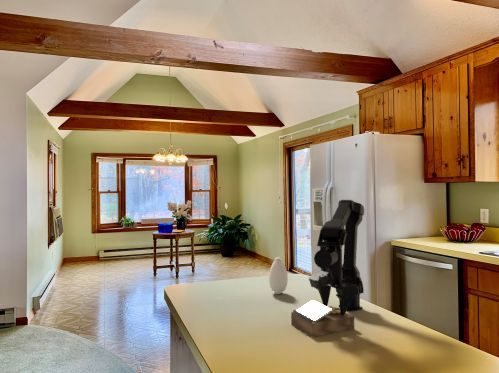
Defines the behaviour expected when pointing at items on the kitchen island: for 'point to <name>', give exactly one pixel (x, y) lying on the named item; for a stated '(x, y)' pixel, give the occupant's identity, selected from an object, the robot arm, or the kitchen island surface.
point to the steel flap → (314, 310)
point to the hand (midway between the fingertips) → (333, 310)
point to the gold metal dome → (335, 311)
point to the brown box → (322, 323)
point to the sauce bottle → (278, 276)
